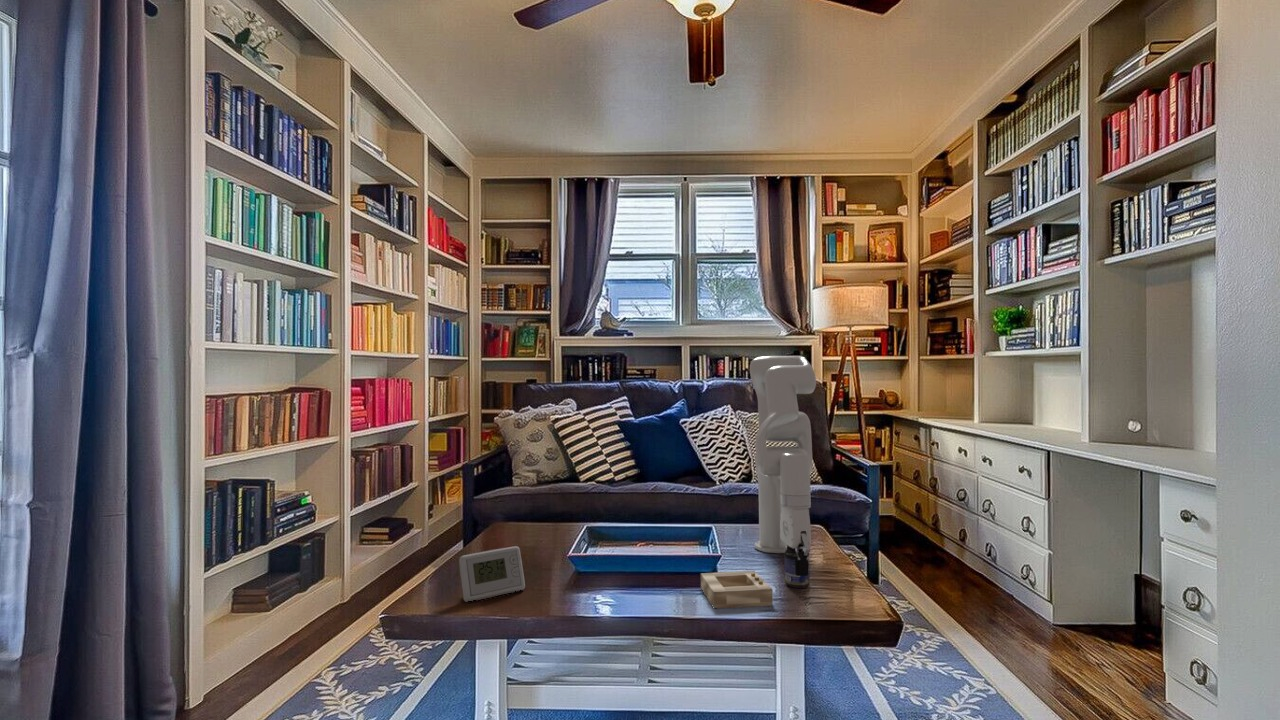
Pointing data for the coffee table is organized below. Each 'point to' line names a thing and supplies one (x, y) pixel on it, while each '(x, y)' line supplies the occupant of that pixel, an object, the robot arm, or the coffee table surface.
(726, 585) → the socket block
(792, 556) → the pill bottle
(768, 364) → the robot arm
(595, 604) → the coffee table surface
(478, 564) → the digital clock
